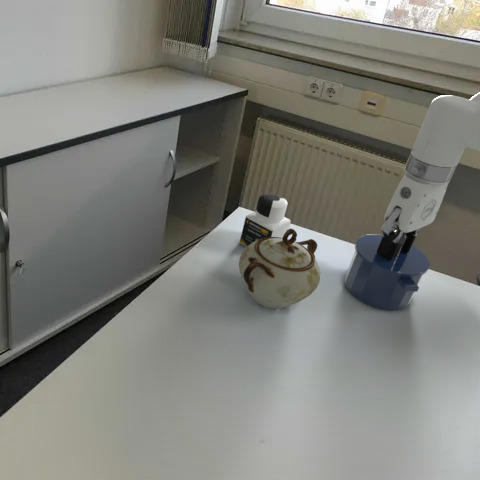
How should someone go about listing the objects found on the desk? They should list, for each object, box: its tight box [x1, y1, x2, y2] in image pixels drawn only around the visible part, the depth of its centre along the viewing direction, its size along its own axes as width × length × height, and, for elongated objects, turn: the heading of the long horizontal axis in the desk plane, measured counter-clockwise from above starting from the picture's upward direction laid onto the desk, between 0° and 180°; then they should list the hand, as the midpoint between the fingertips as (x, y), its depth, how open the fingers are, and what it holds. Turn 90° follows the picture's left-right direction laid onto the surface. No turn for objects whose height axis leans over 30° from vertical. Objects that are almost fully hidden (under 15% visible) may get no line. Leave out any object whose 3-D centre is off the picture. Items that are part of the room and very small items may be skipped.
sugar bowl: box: [238, 228, 321, 310], centre depth 101 cm, size 20×15×15 cm
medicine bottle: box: [239, 193, 292, 247], centre depth 117 cm, size 7×7×12 cm
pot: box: [344, 233, 424, 311], centre depth 108 cm, size 13×18×8 cm
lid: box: [354, 230, 431, 277], centre depth 104 cm, size 14×14×6 cm
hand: (392, 252), depth 105 cm, fingers open, 4 cm apart
